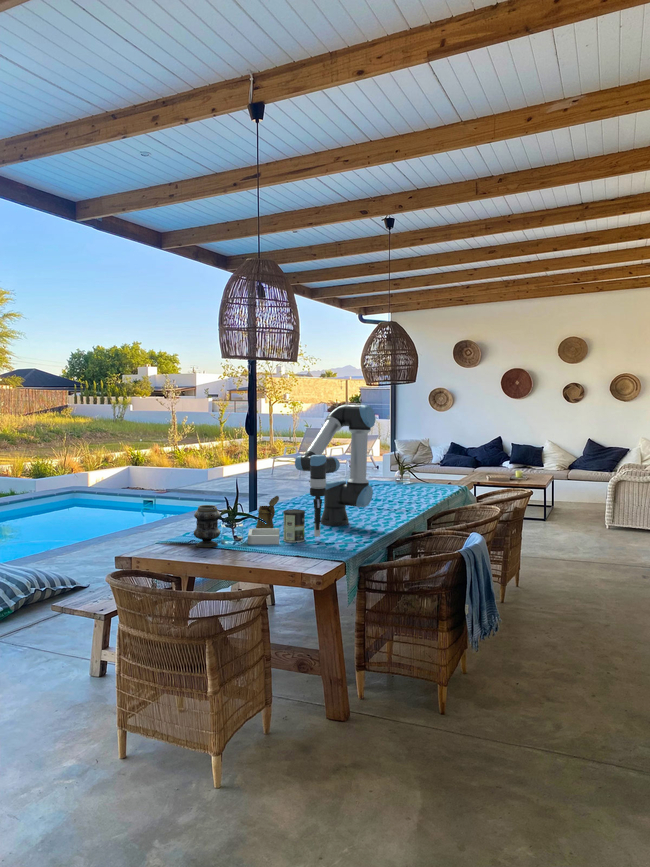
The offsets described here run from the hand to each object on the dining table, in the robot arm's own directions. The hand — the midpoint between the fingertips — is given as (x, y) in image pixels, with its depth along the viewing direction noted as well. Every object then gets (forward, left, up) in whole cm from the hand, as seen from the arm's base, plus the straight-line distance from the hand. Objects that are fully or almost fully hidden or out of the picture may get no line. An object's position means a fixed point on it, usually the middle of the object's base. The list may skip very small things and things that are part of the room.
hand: (317, 536), depth 296 cm
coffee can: (+11, 0, -2) cm, 11 cm away
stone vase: (+51, +9, -2) cm, 52 cm away
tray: (+25, 0, -2) cm, 25 cm away
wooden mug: (+24, -27, -2) cm, 36 cm away
